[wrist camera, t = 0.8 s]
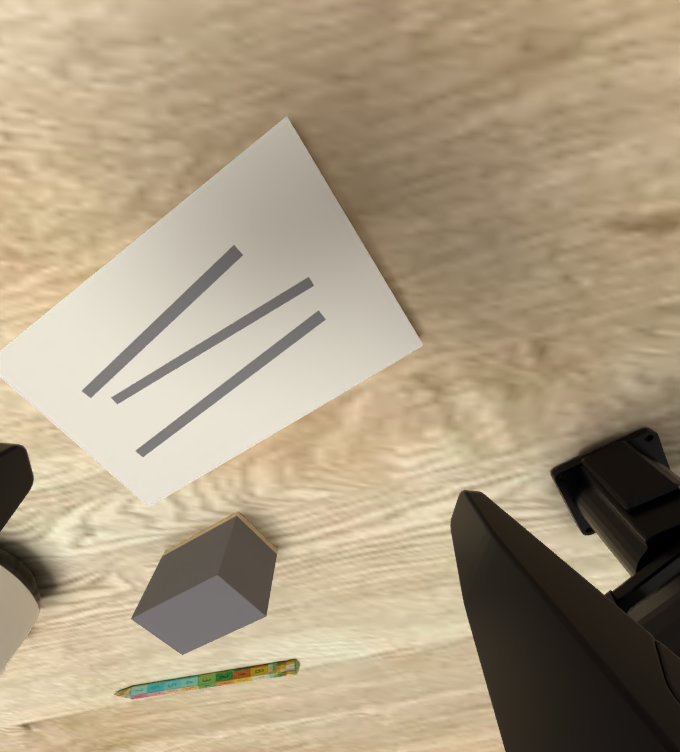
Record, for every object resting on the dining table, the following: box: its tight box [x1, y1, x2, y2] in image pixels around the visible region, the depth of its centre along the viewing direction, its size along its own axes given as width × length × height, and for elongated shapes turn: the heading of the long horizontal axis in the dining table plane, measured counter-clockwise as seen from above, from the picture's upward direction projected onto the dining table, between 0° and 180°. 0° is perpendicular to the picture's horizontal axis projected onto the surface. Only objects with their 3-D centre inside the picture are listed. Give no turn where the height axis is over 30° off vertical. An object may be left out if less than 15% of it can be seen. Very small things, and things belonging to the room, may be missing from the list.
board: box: [0, 116, 424, 507], centre depth 20 cm, size 12×20×1 cm, turn 123°
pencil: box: [114, 659, 299, 699], centre depth 34 cm, size 1×1×18 cm
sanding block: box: [131, 512, 278, 655], centre depth 25 cm, size 4×7×5 cm, turn 124°
